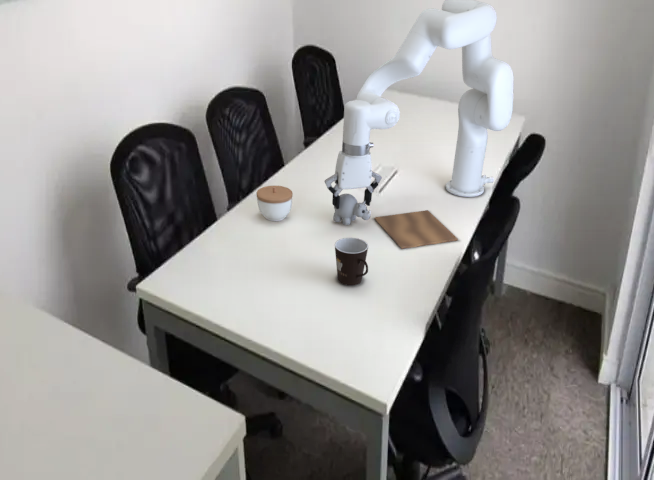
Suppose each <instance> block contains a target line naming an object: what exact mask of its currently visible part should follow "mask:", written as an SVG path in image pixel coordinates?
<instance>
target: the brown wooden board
mask: <svg viewBox="0 0 654 480" xmlns="http://www.w3.org/2000/svg"><path fill="white" fill-rule="evenodd" d="M374 221H375V222H376V223H377V224H378V225H379V226H380V227H381V228H382V229H383V230H384V231H385V233H387V235H388V236H389V237H390V238H391V239H392V240H393V242H394V243H395V244H396V245H397V246H398V247H399V248H400V249H401V250H403V249H409V248H410V249H411V248H417V247H424V246H430V245H438V244H444V243H450V242H456V241H458V239H459V238H458V237H457V236H456V235H455V234H454V233H453V232H451V231H450V230H449V229H448V227H446V226H445V225H444V224H443V223H442V222H441V221H440V220H439V219H438V218H437V217H435V216H434V214H432V212H431V211H429V210H428V209H426V210H425V209H424V210H419V211H411V212H404V213H403V212H402V213H396V214H389V215H383V216H375V217H374Z"/></svg>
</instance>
